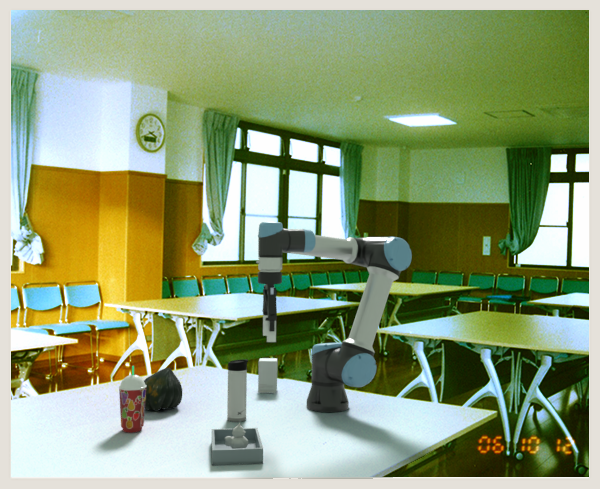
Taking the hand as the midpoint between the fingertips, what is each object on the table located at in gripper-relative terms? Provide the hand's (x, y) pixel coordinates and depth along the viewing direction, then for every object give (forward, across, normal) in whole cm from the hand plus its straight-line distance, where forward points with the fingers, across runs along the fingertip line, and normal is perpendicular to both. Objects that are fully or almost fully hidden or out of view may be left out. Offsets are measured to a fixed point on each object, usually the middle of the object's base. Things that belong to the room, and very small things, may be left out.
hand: (269, 338), depth 203 cm
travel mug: (+29, -13, -9) cm, 33 cm away
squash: (+29, -30, -35) cm, 54 cm away
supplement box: (+29, -53, +5) cm, 61 cm away
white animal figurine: (+28, +21, -11) cm, 37 cm away
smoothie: (+29, -4, -42) cm, 51 cm away
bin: (+29, +21, -11) cm, 37 cm away
